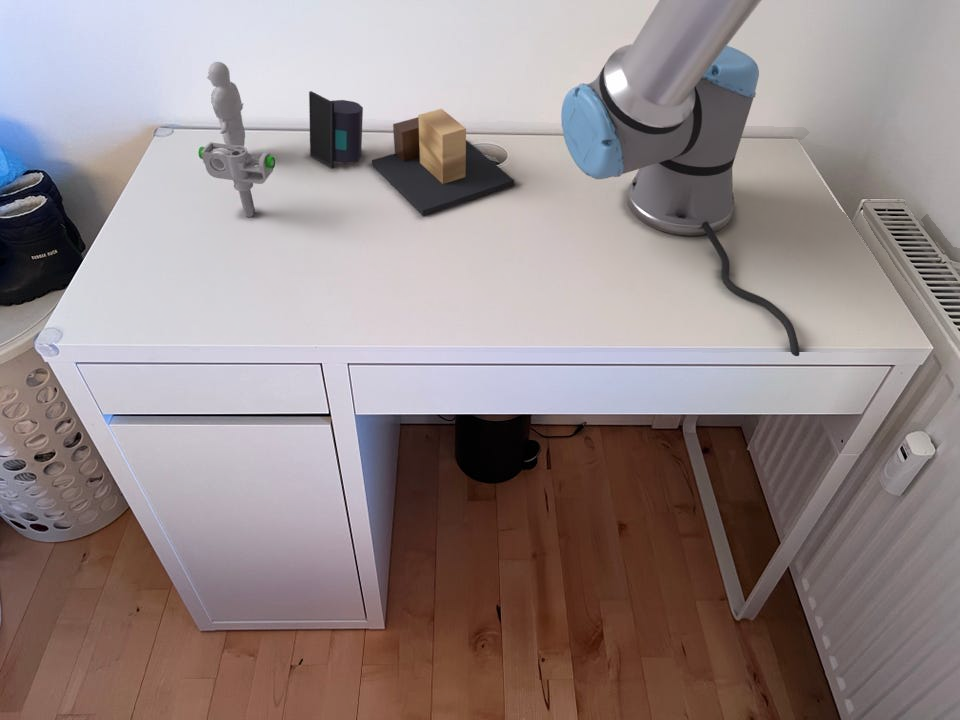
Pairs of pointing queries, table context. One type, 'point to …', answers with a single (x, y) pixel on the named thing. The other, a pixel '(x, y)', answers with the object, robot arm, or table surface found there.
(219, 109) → the figurine
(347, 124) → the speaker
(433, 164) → the pad block
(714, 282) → the table surface
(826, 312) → the table surface
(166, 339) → the table surface
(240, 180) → the mechanical component
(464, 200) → the mat
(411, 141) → the dark brown wooden block
